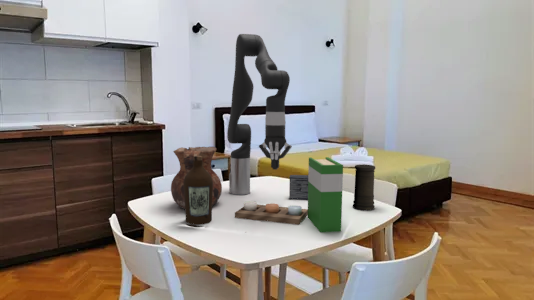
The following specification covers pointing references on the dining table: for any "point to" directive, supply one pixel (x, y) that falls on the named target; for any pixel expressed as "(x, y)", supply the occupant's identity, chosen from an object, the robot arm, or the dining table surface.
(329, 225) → the hardback book
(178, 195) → the brown clay vase
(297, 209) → the pale blue button
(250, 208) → the white button
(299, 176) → the small box
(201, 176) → the olive oil
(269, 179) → the dining table surface
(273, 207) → the terracotta button
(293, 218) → the brown slotted panel
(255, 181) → the dining table surface
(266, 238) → the dining table surface
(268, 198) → the dining table surface
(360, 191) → the container
